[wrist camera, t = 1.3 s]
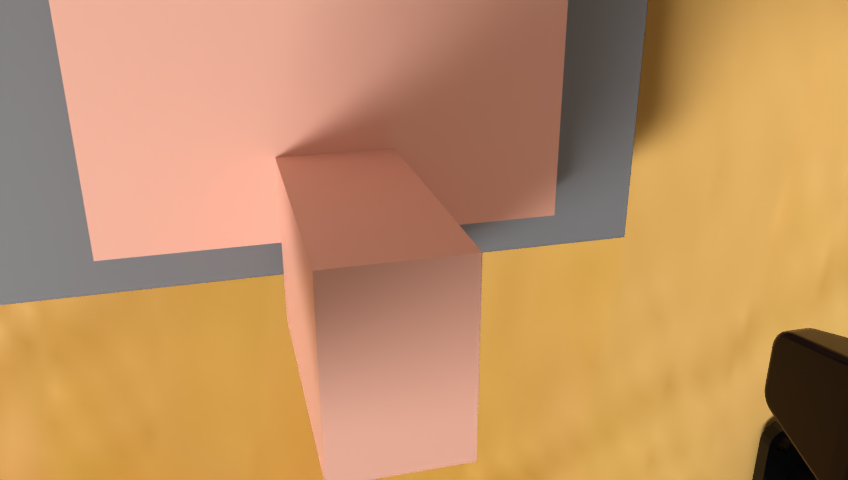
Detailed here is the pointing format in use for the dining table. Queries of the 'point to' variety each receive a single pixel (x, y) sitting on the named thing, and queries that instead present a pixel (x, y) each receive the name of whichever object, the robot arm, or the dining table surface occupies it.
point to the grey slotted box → (80, 275)
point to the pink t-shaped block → (329, 179)
